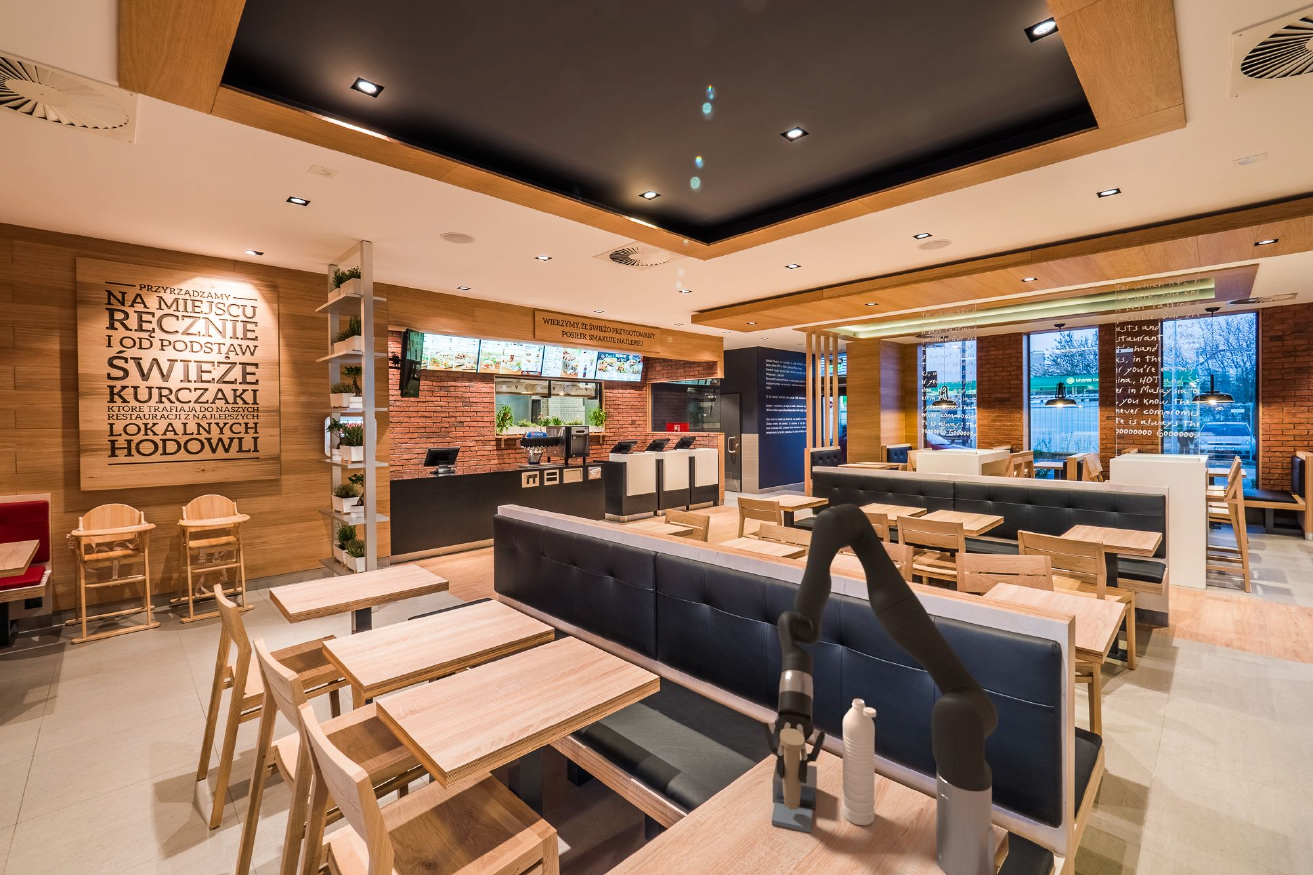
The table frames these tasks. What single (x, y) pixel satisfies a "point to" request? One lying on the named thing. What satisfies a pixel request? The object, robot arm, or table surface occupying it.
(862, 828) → the table surface
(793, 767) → the handle
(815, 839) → the table surface
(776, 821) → the rubber mat
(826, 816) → the table surface
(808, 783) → the socket block
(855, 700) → the water bottle
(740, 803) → the table surface
